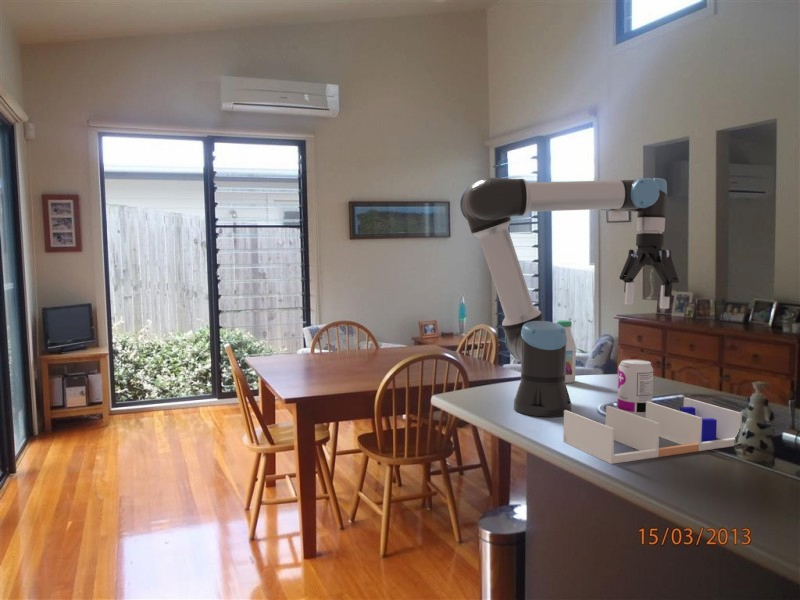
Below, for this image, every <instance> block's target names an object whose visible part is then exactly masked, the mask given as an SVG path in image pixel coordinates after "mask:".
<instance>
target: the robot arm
mask: <svg viewBox="0 0 800 600" xmlns="http://www.w3.org/2000/svg"><path fill="white" fill-rule="evenodd" d="M667 199H668V183H667V180H666V179H664V178H660V177H652V178H651V177H647V178H646V177H645V178H644V177H640V178H638V179H621V180H618V179H615V180H614V179H612V180H611V179H610V180H579V181H577V180H576V181H575V180H574V181H544V182H541V181H540V182H527V180H526V179H524V178H502V177H485V178H480V179H479V180H477V181H476V182H473V183H471V184H469V185H468V186H467V187H466V188H465V189H464V191H463V192H462V195H461V197H460V202H459V207H460V212H461V213H462V215H463V217H464V218H465V220H466V221H467V223H468V226H469V230H470V232H471V235H472V236H475V237H476V238H478V240H479V242H480V246H481V248H482V251H483V255H484V257H485V260H486V263H487V266H488V269H489V272H490V275H491V279H492V282H493V284H494V288H495V291H496V293H497V297H498V300H499V303H500V306H501V309H502V311H503V314H504V318H503V320H502V323H501V324H502V325H501V326H502V329H503V331H504V335H505V336H504V343H505V346H506V348H507V351H508V352H509V354H510V355H511V356H512V357H514V358H515V359H516V360H518V361H520V362H521V363H520V382H519V384H518V385H519V386H518V389H517V390H516V394H515V397H514V400H513V410H514V411H516V412H517V413H519V414H523V415H528V416H533V417H543V418H544V417H549V418H551V417H552V418H553V417H564V410H567V411H570V412H572V402H571V398H570V395H569V391H568V387H567V383H565V368H566V343H567V337H566V330H565V328H564V327H563V326H562V325H560V324H557V322H552V321H548V320H546V321H545V320H544V317H543V313H542V312H541V310H539V309H537V308H535V307H534V304H533V301H532V298H531V294H530V291H529V289H528V285H527V282H526V279H525V276H524V273H523V270H522V268H521V264H520V261H519V258H518V255H517V252H516V249H515V245H514V244H513V243H514V242H513V240H512V237H511V234H510V231H509V226H510V225H511V223H512V219H511V217H516V216H517V217H522V216H523V217H524V216H525V215H526V214H527V213H528V212H529V213H530V212H554V211H556V212H560V211H561V212H562V211H587V210H589V211H590V210H591V211H592V210H600V211H607V212H636V213H637V220H636V232H638V233H637V234H635V235H636V237H635V246H636V247H637V249H629V250H628V256H627V258H626V261H625V263H624V265H623V268H622V269H621V273H620V275H619V280H621V281H623V282H624V290H623V291H624V293H625V294H624V305H634V303H635V302H634V301H635V300H634V299H635V298H634V297H635V283H636V282H635V281H634V280H635V279H636V277H637V275H638V274H639V273H640V271H641V270H642V269H643V267H646V266H652V267H654V270H655V271H656V273H657V275H658V276H659V278H660V280H661V282H662V284H661V285H660V297H659V298H660V299H659V309H665V310H666V309H667V310H668V309H670V298H671V297H672V292H673V291H672V290H673V286H674V285H676V284H679V283H680V280H679V278H678V274H677V271H676V268H675V265H674V262H673V259H672V250H670V249H662V248H663V247H664V245H665V234H664V232H665V226H666V225H665V224H666V213H667V212H666V210H667Z"/></svg>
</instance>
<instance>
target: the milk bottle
mask: <svg viewBox="0 0 800 600" xmlns="http://www.w3.org/2000/svg"><path fill="white" fill-rule="evenodd" d="M556 323H557V324H560V325H562V326H563V327H564V328H565V330H566V337H567V343H566V368H565V384H571V383H575V381H576V363H577V362H576V359H577V358H576V355H577V354H576V353H577V351H576V348H577V347H576V342H575V339H574V337H573V334H572V332H571V328H572V321H571V320H557V322H556Z"/></svg>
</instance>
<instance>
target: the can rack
mask: <svg viewBox="0 0 800 600" xmlns="http://www.w3.org/2000/svg"><path fill="white" fill-rule="evenodd" d="M605 407H606V409H605V424H603V423H601V422H599V421H595V420H593V419H590V418H588V417H585V416H582V415H580V414H577V413H575V412H572V411H571V412H570V411H567V410H564V415H563V441H562V442H563V443H566V444H567V445H570V446H572V447H574V448H575V449H578V450H580V451H582V452H583V453H584V452H585V453H587V454H589V455H591V456H593V457H595V458H596V459H599V460H602V461H603V462H606V463H609V464H610V465H612V464H620V463H626V462H627V463H628V462H633V461H634V462H635V461H641V460H648V459H654V458H661V457H662V458H663V457H668V456H674V455H680V454H681V455H682V454H688V453H694V452H696V453H697V452H701V451H708V450H714V449H723V448H729V447H735V446H734V440H735V437H736V436H737V434H738V432H739V429H740V427H741V425H742V421H743V412H740V411H736V410H732V409H729V408H726V407H721V406H719V405H714V404H711V403H708V402H703V401H701V400H697V399H693V398H689V397H683V407H694V408H695V414H696V416H694V415H691V414H688V413H684V412H681V411H680V410H679V409H678V410H677V409H674V408H671V407H668V406H665V405H663V404H662V405H661V404H658V403H654V402H653V401H652V402H648V401H647V402H646V418H643V417H640V416H637V415H634V414H631V413H629V412H626V411H623V410H620V409H617V408H616V407H613V406H612V405H606V406H605ZM702 418H714V419H716V420H717V429H716V440H713V441H706V442H701V434H702ZM741 428H742V427H741ZM660 438H662V439H664V440H668V441H670V442H673V443H676V444H677V445H673V446H671V445H670V446H664V447H660ZM615 441H616V442H617V443H620V444H623V445H625V446H628V447H630V448H633V449H635V451H628V452H621V453H614V452H615V450H614V447H615Z"/></svg>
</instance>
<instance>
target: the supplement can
mask: <svg viewBox="0 0 800 600" xmlns="http://www.w3.org/2000/svg"><path fill="white" fill-rule="evenodd" d="M617 375H618V376H617V378H618V379H617V406H616V407H617V409H620V410H623V411H626V412H629V413H631V414H634V415H637V416H640V417H643V418H646V402H647V401H648V402H652V403H653V388H654V385H653V383H654V368H653V366H652V362H651V361H649V360H644V359H622V360H621V361H620V364H619V365H618V373H617Z"/></svg>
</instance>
